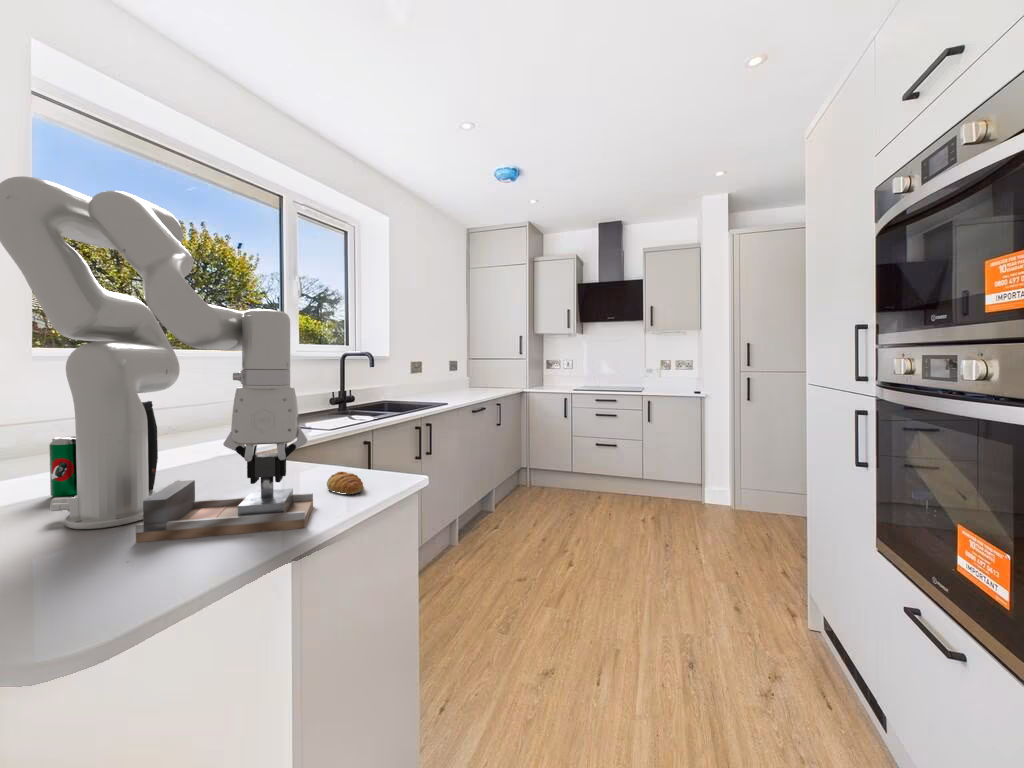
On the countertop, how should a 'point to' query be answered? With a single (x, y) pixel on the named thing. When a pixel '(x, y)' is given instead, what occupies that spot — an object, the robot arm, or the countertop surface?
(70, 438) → the soda can
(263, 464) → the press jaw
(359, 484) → the pastry
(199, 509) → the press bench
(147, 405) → the portable speaker
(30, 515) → the countertop surface
